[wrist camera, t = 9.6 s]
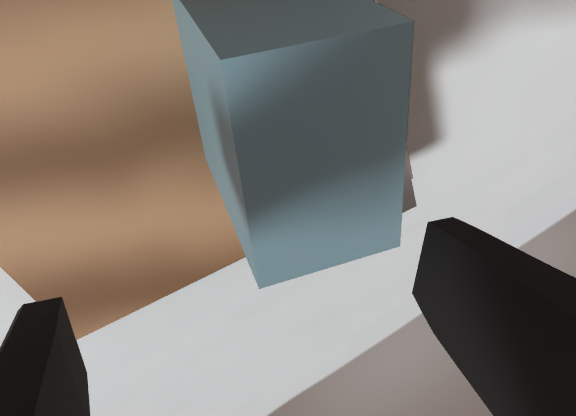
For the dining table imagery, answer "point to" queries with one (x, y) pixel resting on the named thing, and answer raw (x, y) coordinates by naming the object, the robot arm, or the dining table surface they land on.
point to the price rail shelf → (105, 159)
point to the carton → (302, 125)
